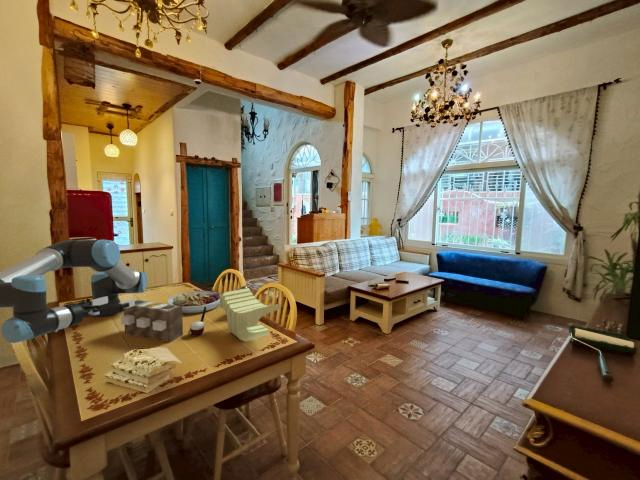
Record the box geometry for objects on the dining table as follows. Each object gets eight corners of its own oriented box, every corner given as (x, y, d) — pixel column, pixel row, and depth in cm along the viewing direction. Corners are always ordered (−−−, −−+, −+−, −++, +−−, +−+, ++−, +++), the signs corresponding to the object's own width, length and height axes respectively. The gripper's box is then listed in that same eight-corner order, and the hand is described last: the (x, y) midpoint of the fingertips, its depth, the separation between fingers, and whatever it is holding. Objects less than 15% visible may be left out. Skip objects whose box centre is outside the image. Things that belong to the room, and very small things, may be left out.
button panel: (124, 333, 140) (123, 303, 138) (139, 327, 148) (138, 298, 146) (170, 342, 133) (168, 310, 131) (182, 334, 141) (182, 305, 139)
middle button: (136, 326, 134) (136, 319, 133) (142, 323, 137) (142, 316, 136) (144, 328, 132) (144, 320, 132) (150, 325, 135) (150, 318, 135)
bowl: (161, 317, 161) (160, 303, 160) (174, 299, 190) (174, 287, 189) (219, 314, 168) (219, 300, 167) (223, 297, 197) (223, 285, 196)
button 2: (152, 329, 131) (152, 322, 131) (158, 326, 134) (158, 319, 134) (160, 331, 130) (160, 323, 129) (166, 328, 133) (166, 320, 132)
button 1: (121, 323, 136) (120, 316, 136) (127, 321, 139) (127, 314, 139) (128, 325, 135) (128, 318, 134) (134, 322, 138) (134, 315, 137)
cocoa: (189, 339, 137) (187, 315, 135) (186, 334, 142) (184, 310, 140) (210, 334, 142) (209, 310, 140) (207, 328, 147) (205, 306, 145)
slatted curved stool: (220, 327, 150) (219, 293, 148) (248, 320, 160) (248, 287, 158) (248, 350, 128) (248, 310, 125) (279, 340, 138) (279, 303, 136)
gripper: (38, 323, 105) (96, 307, 125) (93, 331, 99) (145, 312, 119) (37, 302, 105) (96, 289, 125) (93, 308, 98) (145, 294, 119)
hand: (120, 300), depth 122 cm, fingers open, 13 cm apart
